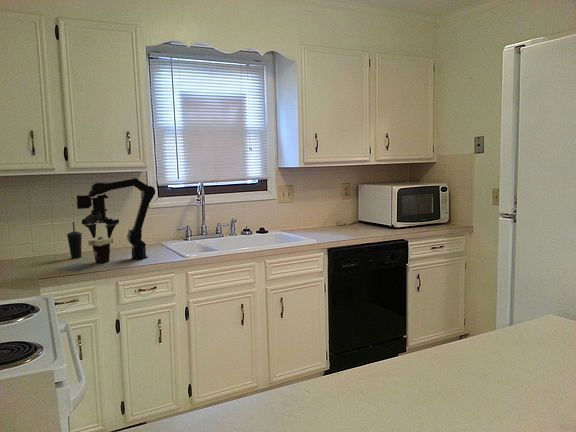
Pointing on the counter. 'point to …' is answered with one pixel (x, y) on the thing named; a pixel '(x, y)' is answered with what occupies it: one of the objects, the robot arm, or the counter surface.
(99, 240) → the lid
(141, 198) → the robot arm
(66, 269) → the mat
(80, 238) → the drinking cup
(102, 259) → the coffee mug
